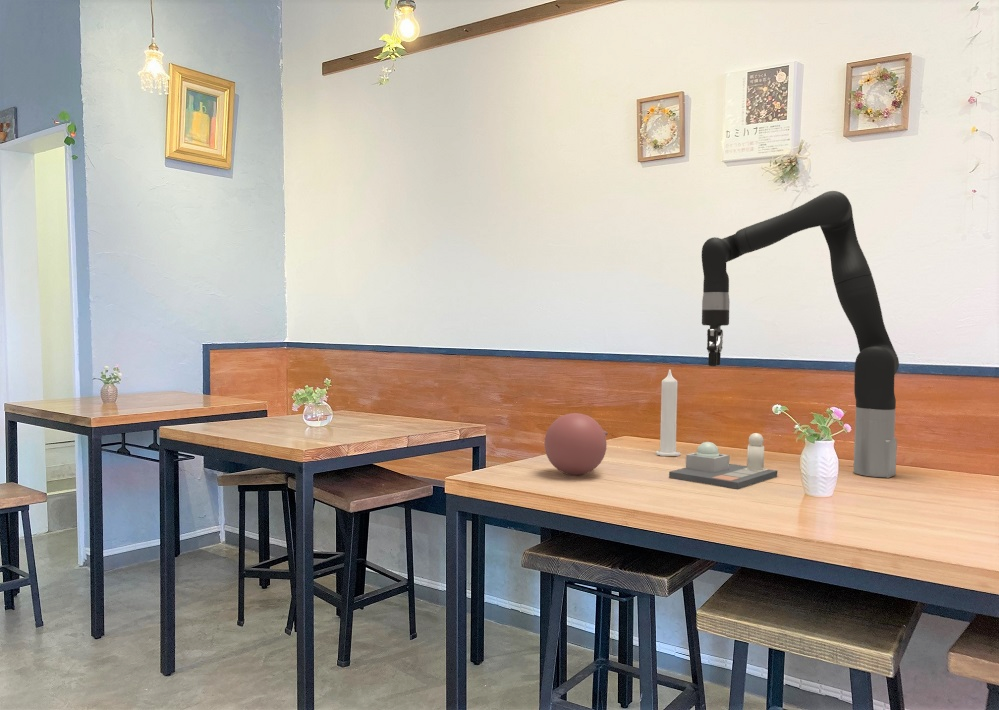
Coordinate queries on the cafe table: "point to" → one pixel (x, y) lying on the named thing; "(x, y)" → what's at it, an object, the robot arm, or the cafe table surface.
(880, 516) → the cafe table surface
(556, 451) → the mauve rubber ball
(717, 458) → the game board
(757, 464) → the pawn
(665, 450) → the candle
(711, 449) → the dome
